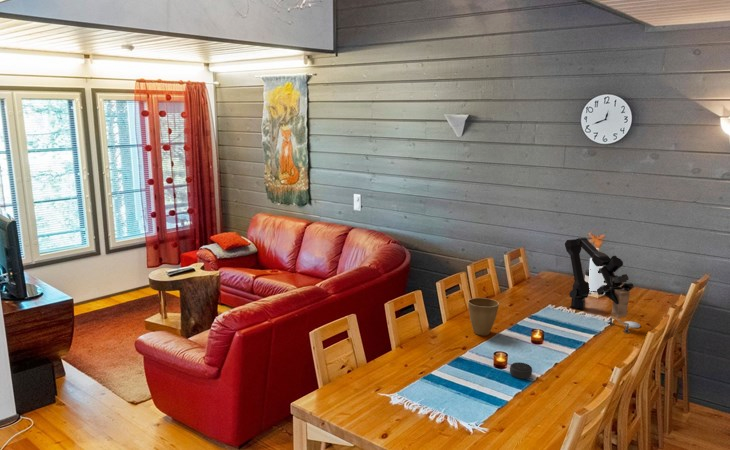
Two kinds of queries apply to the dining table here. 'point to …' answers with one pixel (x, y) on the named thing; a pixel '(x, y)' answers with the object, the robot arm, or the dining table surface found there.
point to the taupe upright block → (621, 303)
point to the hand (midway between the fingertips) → (622, 303)
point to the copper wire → (619, 322)
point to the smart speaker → (521, 370)
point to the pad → (632, 324)
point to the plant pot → (482, 314)
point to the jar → (586, 275)
